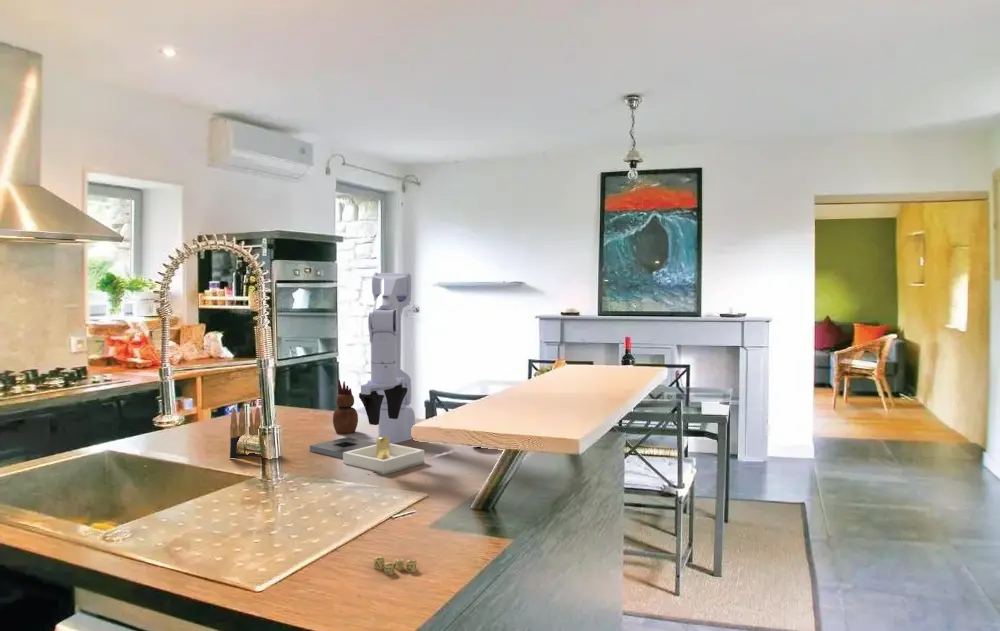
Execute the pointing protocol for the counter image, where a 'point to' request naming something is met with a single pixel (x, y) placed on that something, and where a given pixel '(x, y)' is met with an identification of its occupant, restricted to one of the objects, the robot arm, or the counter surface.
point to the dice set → (390, 565)
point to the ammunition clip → (242, 431)
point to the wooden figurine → (345, 411)
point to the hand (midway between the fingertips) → (383, 421)
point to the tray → (398, 459)
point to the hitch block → (339, 446)
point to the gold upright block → (383, 447)
